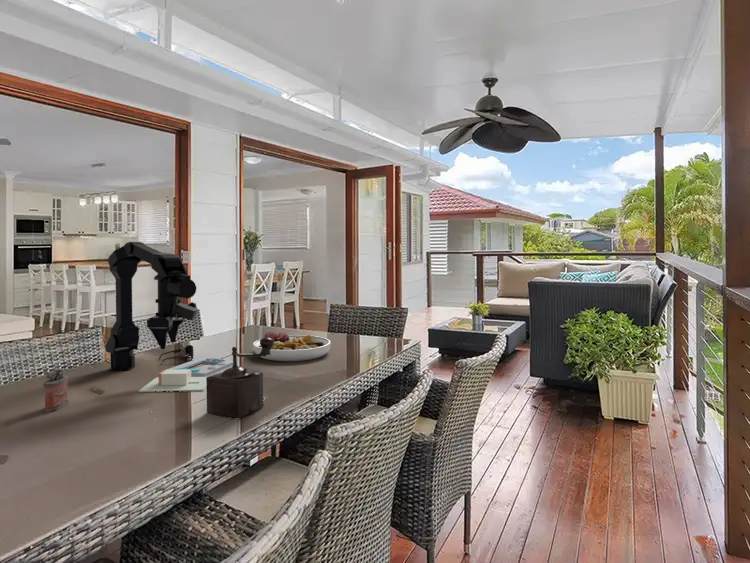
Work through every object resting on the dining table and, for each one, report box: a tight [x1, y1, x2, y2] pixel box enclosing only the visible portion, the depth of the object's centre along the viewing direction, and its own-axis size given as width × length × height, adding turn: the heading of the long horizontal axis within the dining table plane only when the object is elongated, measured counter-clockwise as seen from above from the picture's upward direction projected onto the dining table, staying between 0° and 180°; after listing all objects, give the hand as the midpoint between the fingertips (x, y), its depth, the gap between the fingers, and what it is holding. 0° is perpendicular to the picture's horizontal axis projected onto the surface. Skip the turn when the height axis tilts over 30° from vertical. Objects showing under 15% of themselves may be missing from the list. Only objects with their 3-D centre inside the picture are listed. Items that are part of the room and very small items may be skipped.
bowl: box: [252, 331, 331, 362], centre depth 191 cm, size 30×30×8 cm
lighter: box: [42, 368, 70, 414], centre depth 126 cm, size 8×3×10 cm, turn 5°
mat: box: [138, 376, 208, 393], centre depth 147 cm, size 18×14×1 cm
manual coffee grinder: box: [206, 336, 274, 419], centre depth 127 cm, size 16×11×18 cm
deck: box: [158, 368, 192, 386], centre depth 147 cm, size 5×8×4 cm, turn 95°
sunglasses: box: [158, 344, 194, 363], centre depth 179 cm, size 10×12×5 cm
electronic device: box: [166, 357, 233, 377], centre depth 167 cm, size 18×2×15 cm
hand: (168, 345), depth 150 cm, fingers open, 9 cm apart
